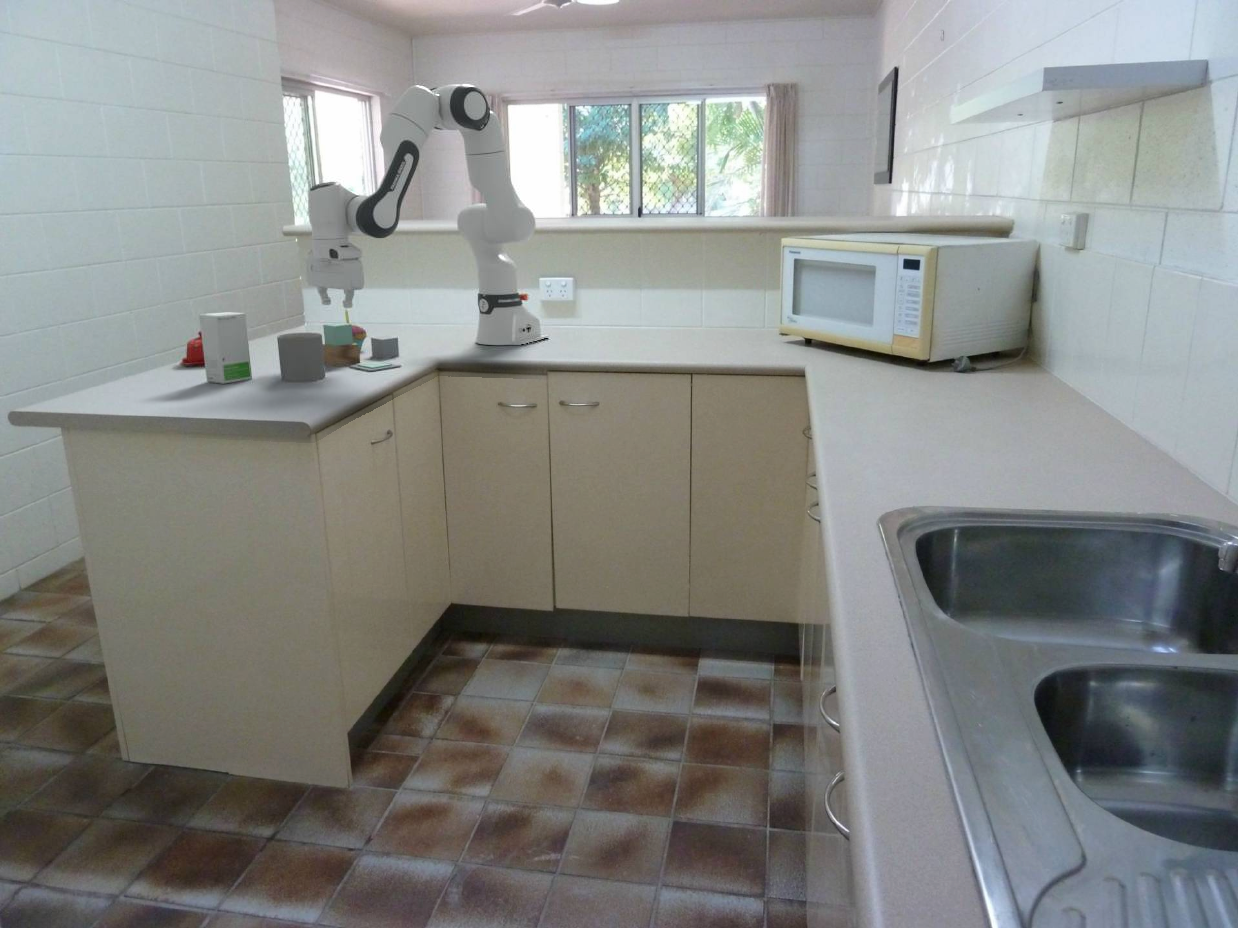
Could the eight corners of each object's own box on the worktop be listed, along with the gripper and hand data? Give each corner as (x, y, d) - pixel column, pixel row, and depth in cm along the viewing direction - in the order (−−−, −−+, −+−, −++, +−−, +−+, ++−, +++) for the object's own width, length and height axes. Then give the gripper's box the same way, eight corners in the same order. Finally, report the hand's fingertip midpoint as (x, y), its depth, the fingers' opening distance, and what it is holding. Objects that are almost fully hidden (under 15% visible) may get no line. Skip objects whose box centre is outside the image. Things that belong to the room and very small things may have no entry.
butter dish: (182, 361, 243) (178, 329, 241) (230, 358, 248) (226, 326, 246) (182, 369, 233) (178, 335, 231) (232, 365, 238) (228, 332, 235)
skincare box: (222, 384, 213) (214, 316, 209) (204, 381, 217) (196, 314, 212) (254, 378, 220) (246, 312, 216) (236, 376, 223) (228, 310, 219)
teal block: (325, 344, 239) (323, 324, 238) (341, 342, 243) (340, 322, 241) (336, 346, 236) (334, 326, 235) (353, 343, 240) (351, 324, 238)
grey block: (387, 354, 254) (386, 335, 253) (399, 356, 251) (397, 337, 250) (372, 356, 250) (370, 337, 249) (383, 358, 247) (382, 339, 246)
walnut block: (344, 360, 245) (342, 341, 244) (360, 363, 241) (358, 344, 239) (320, 364, 240) (319, 344, 239) (336, 367, 236) (335, 347, 234)
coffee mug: (323, 381, 218) (319, 338, 215) (278, 382, 216) (274, 339, 213) (328, 370, 230) (325, 330, 227) (286, 372, 228) (282, 331, 226)
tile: (379, 362, 240) (379, 360, 240) (401, 366, 235) (400, 364, 235) (349, 367, 234) (349, 364, 234) (370, 372, 228) (370, 369, 228)
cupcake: (362, 353, 254) (359, 309, 251) (331, 353, 255) (327, 309, 251) (371, 348, 263) (368, 305, 259) (341, 348, 263) (337, 305, 259)
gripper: (297, 249, 237) (303, 304, 241) (343, 253, 224) (349, 310, 228) (318, 247, 241) (324, 301, 245) (366, 251, 229) (371, 307, 233)
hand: (337, 306), depth 237 cm, fingers open, 8 cm apart
